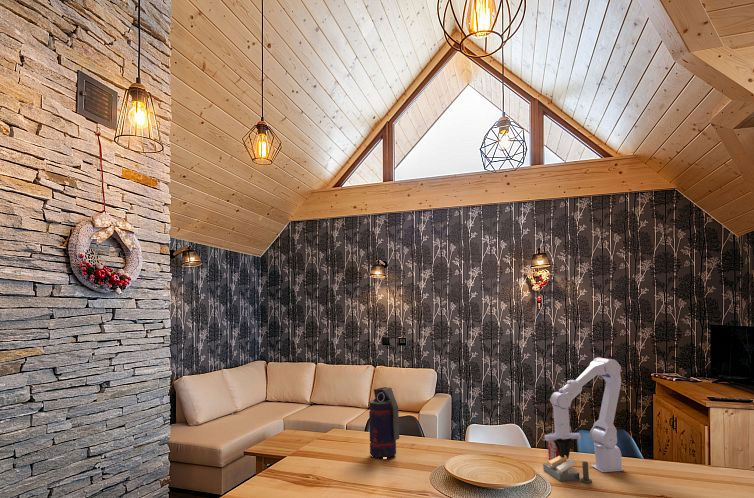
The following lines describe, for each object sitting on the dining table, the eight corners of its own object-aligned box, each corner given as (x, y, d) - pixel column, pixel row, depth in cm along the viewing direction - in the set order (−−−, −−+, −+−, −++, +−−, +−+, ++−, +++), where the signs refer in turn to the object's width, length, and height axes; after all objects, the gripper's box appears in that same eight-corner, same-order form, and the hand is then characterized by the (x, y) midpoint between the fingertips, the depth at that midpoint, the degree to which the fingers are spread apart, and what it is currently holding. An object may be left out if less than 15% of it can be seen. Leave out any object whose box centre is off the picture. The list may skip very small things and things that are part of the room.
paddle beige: (572, 461, 190) (570, 458, 190) (577, 464, 187) (575, 460, 187) (557, 470, 189) (555, 467, 189) (562, 473, 186) (560, 470, 186)
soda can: (568, 467, 201) (566, 436, 202) (550, 466, 202) (548, 436, 204) (565, 461, 208) (563, 432, 209) (547, 461, 209) (546, 432, 211)
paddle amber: (563, 457, 197) (562, 453, 197) (568, 460, 193) (566, 456, 193) (548, 464, 195) (547, 461, 196) (553, 467, 192) (551, 463, 192)
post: (588, 479, 187) (586, 460, 187) (594, 483, 183) (592, 463, 184) (578, 480, 186) (577, 460, 187) (584, 483, 182) (583, 464, 183)
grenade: (364, 457, 219) (363, 388, 222) (379, 450, 229) (378, 385, 232) (390, 462, 211) (389, 391, 214) (404, 455, 221) (403, 387, 224)
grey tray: (561, 468, 199) (561, 458, 199) (579, 479, 186) (578, 469, 187) (543, 470, 198) (542, 459, 198) (560, 481, 185) (559, 470, 185)
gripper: (549, 426, 191) (552, 462, 190) (584, 424, 194) (586, 460, 192) (541, 422, 198) (543, 457, 197) (574, 420, 201) (576, 454, 199)
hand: (564, 458), depth 195 cm, fingers closed, pressing on paddle amber
